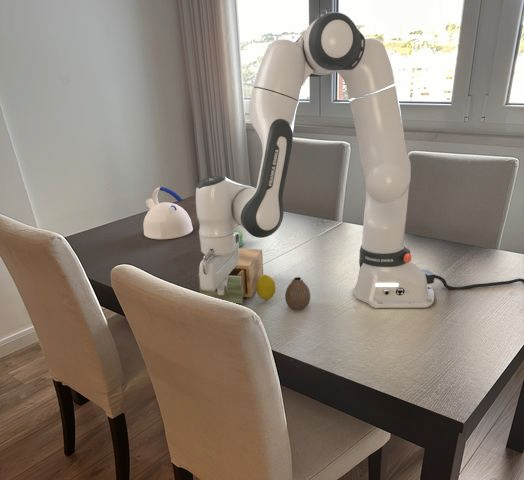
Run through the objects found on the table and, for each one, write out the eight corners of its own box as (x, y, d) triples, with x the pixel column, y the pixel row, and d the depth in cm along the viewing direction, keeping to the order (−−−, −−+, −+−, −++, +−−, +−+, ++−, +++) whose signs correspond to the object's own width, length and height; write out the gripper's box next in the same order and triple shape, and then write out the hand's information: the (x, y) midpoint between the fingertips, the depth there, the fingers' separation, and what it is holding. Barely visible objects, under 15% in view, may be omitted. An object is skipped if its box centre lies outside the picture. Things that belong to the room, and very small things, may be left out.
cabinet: (250, 297, 144) (248, 266, 139) (207, 294, 147) (203, 263, 142) (263, 279, 155) (262, 249, 150) (222, 276, 159) (220, 247, 154)
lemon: (274, 305, 139) (273, 278, 135) (255, 304, 140) (253, 278, 136) (277, 296, 143) (276, 271, 139) (259, 296, 144) (257, 270, 140)
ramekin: (245, 241, 188) (244, 229, 185) (241, 249, 180) (241, 237, 178) (222, 241, 189) (221, 230, 186) (217, 249, 181) (216, 238, 179)
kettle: (168, 222, 215) (161, 179, 205) (203, 228, 204) (198, 184, 194) (133, 235, 201) (124, 190, 192) (168, 242, 190) (161, 195, 181)
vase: (303, 315, 132) (302, 285, 128) (281, 310, 136) (280, 281, 131) (314, 305, 137) (314, 276, 133) (293, 300, 141) (292, 272, 136)
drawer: (240, 305, 137) (238, 279, 133) (199, 301, 141) (196, 276, 137) (254, 285, 149) (253, 261, 145) (216, 282, 152) (213, 258, 148)
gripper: (214, 258, 115) (220, 311, 123) (241, 231, 132) (245, 279, 139) (190, 257, 117) (196, 309, 124) (219, 230, 134) (224, 277, 141)
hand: (222, 293), depth 132 cm, fingers closed
